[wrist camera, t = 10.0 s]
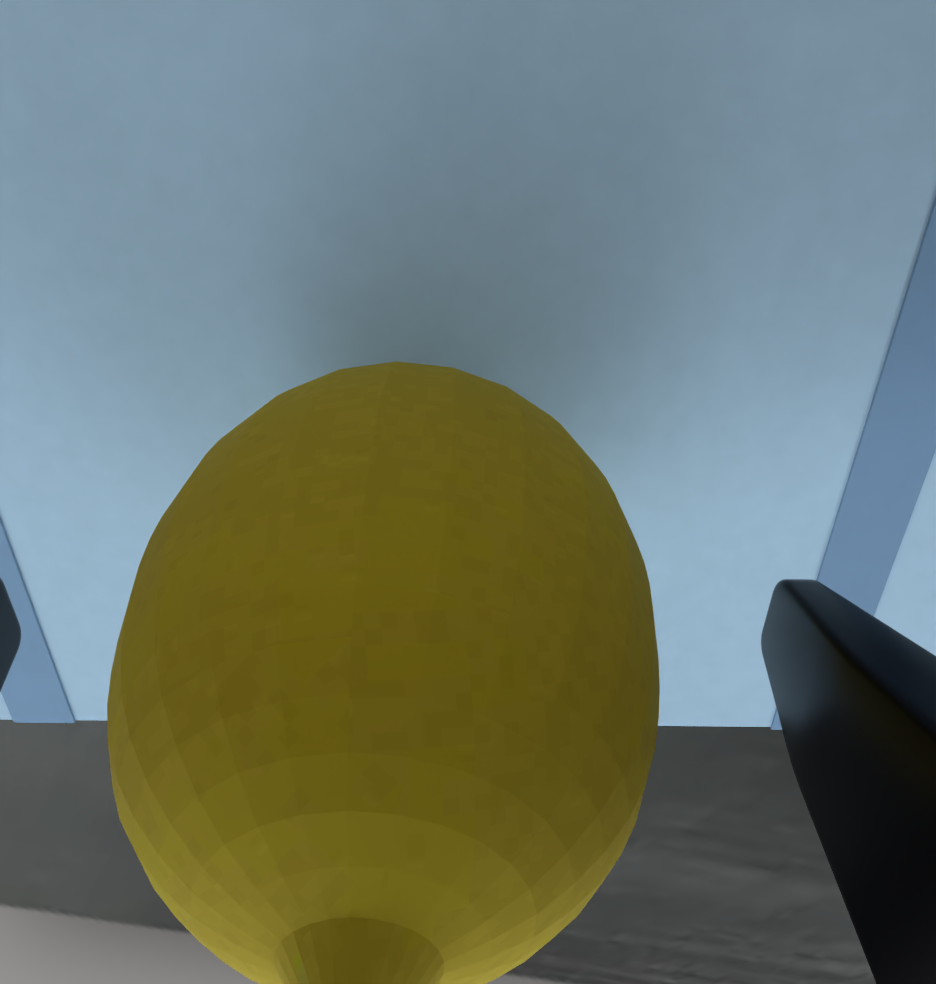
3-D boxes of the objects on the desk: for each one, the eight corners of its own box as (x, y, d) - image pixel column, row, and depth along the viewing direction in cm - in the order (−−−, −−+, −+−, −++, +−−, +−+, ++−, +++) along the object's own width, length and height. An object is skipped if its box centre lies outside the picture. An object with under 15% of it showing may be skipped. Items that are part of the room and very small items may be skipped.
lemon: (437, 643, 14) (405, 1235, 7) (174, 466, 12) (-225, 1040, 5) (670, 446, 12) (951, 1015, 5) (396, 192, 10) (226, 540, 3)
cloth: (1325, -202, 8) (1369, -216, 8) (915, 714, 15) (926, 731, 15) (-533, -226, 8) (-587, -241, 8) (-69, 704, 15) (-82, 721, 15)
